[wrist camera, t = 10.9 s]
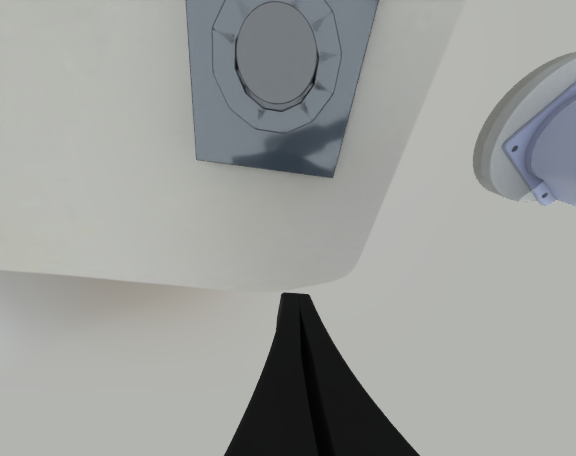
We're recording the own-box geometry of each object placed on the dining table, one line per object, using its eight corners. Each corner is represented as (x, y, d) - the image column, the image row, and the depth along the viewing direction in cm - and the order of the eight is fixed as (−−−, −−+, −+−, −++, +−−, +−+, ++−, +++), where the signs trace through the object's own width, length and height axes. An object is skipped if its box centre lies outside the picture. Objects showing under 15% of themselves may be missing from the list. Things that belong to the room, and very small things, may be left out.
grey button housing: (192, -91, 11) (152, -182, 7) (378, -42, 12) (420, -101, 8) (204, 154, 17) (185, 167, 13) (327, 171, 18) (339, 187, 14)
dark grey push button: (243, 10, 10) (236, -10, 8) (317, 26, 10) (326, 10, 9) (241, 98, 12) (234, 97, 10) (304, 109, 12) (308, 110, 11)
